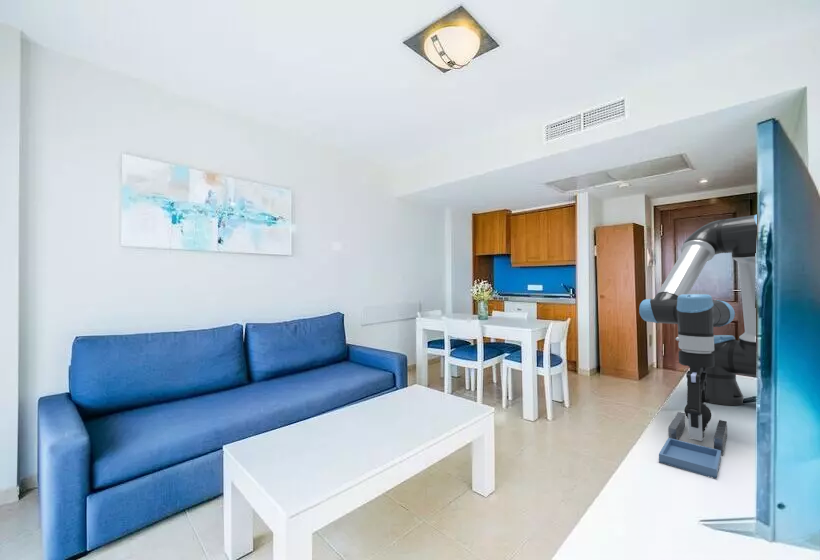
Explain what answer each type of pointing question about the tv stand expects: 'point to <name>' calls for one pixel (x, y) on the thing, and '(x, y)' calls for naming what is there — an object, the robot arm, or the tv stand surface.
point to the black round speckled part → (703, 416)
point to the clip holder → (679, 426)
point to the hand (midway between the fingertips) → (698, 432)
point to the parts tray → (691, 457)
